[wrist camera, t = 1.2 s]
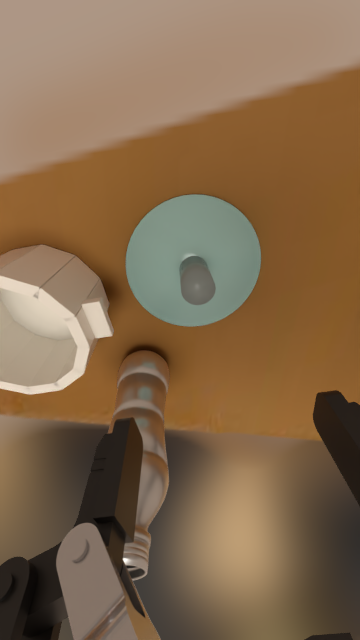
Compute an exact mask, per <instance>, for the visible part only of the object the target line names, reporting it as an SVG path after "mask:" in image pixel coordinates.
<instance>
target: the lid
mask: <svg viewBox="0 0 360 640" xmlns="http://www.w3.org/2000/svg"><path fill="white" fill-rule="evenodd" d="M260 265H261V250H260V245H259V241H258V238H257V235H256V232H255V230H254V228H253V227H252V225H251V223H250V222H249V221H248V219H247V218H246V217H245V216H244V215H243V214H242V213H241V212H240V211H239V210H238V209H237V208H235V207H234V206H233V205H231V204H229V203H227V202H225V201H223V200H221V199H219V198H216V197H213V196H208V195H201V194H190V195H182V196H178V197H175V198H172V199H169V200H167V201H165V202H163V203H161V204H159V205H158V206H156V207H155V208H154V209H152V210H151V211H150V212H149V213H147V215H146V216H145V217H144V218H143V219H142V220H141V221H140V223H139V224H138V226H137V227H136V229H135V230H134V232H133V234H132V236H131V239H130V242H129V244H128V248H127V253H126V274H127V278H128V282H129V285H130V287H131V290H132V292H133V294H134V295H135V297H136V298H137V300H138V301H139V303H140V304H141V305H142V306H143V307H144V308H145V309H146V310H147V311H148V312H150V313H151V314H152V315H154V316H155V317H157V318H159V319H161V320H163V321H165V322H168V323H171V324H175V325H179V326H202V325H207V324H210V323H214V322H216V321H219V320H221V319H223V318H225V317H227V316H228V315H230V314H231V313H233V312H234V311H235V310H237V309H238V308H239V307H240V306H241V305H242V304H243V303H244V301H245V300H246V299H247V298H248V296H249V295H250V293H251V292H252V290H253V288H254V286H255V284H256V281H257V279H258V276H259V271H260Z"/></svg>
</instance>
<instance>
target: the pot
mask: <svg viewBox="0 0 360 640" xmlns="http://www.w3.org/2000/svg"><path fill="white" fill-rule="evenodd" d="M108 308H109V301H108V299H107V296H106V293H105V290H104V287H103V285H102V282H101V279H99V277H98V276H97V275H96V274H95V273H94V272H93V271H92V270H91V269H90V268H89V267H88V266H87V265H86V264H85V263H83V262H82V261H81V260H80V259H79V258H78V257H77V256H76V257H75V255H73V254H70V253H67V252H64V251H61V250H58V249H55V248H52V247H49V246H46V245H42V244H41V245H36V246H30V247H25V248H19V249H14V250H11V251H9V252H7V253H5V254H3V255H1V256H0V388H1V389H6V390H11V391H16V392H21V393H26V394H37V393H44V392H51V391H58V390H63V389H64V388H65V387H67V386H68V385H69V384H71V383H72V382H73V381H75V380H76V379H77V378H79V377H80V376H81V375H83V374H84V372H85V369H86V367H87V365H88V362H89V360H90V358H91V355H92V353H93V351H94V348H95V346H96V344H97V341H98V339H99V338H102V337H109V336H113V333H114V329H113V327H112V324H111V321H110V319H109V316H108V313H107V312H108Z"/></svg>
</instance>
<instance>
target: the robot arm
mask: <svg viewBox="0 0 360 640" xmlns="http://www.w3.org/2000/svg"><path fill="white" fill-rule="evenodd" d="M313 420H314V424H315V427H316V429H317V431H318V433H319V435H320V436H321V438H322V440H323V442H324V444H325V445H326V447H327V449H328V451H329V452H330V454H331V456H332V458H333V460H334V461H335V463H336V465H337V467H338V469H339V470H340V472H341V474H342V476H343V478H344V479H345V481H346V482H347V485H348V486H349V488H350V490H351V492H352V494H353V495H354V497H355V499H356V501H357V502H358V504H359V506H360V405H359V404H357V403H356V402H351V403H348V402H347V400H346V399H345V398H344V396H343V395H342V394H341V393H340V392H339V391H337V390H335V391H328V392H321V393H317V396H316V401H315V407H314V412H313ZM142 457H143V440H142V436H141V433H140V431H139V429H138V426H137V424H136V421H135V419H134V418H133V417H130V418H123V419H117V420H116V421H115V423H114V427H113V431H112V433H109V434H105V435H104V436H103V438H102V439H101V441H100V443H99V444H98V446H97V449H96V453H95V456H94V462H93V464H92V467H91V473H90V475H89V478H88V482H87V486H86V489H85V493H84V497H83V501H82V504H81V508H80V511H79V515H78V518H77V521H76V523H75V525H74V527H73V529H72V530H71V531H70V532H69V533H68V534H67V535H66V537H65V538H64V540H63V541H62V542H60V543H59V544H58V545H56V546H55V547H53V548H51V549H49V550H47V551H45V552H43V553H41V554H39V555H38V556H36V557H34V558H32V559H30V560H28V561H27V560H26V559H24V558H23V557H14V558H11V559H9V560H7V561H6V562H4V563H3V564H2V565H1V566H0V640H58V638H59V633H60V628H61V623H62V620H64V619H65V618H67V617H69V621H70V625H71V629H72V634H73V638H74V640H161V639H160V637H159V635H158V633H157V631H156V629H155V627H154V626H153V624H152V622H151V621H150V619H149V617H148V615H147V613H146V610H145V608H144V606H143V604H142V601H141V599H140V597H139V594H138V592H137V590H136V588H135V585H134V583H133V581H132V579H131V576H130V574H129V572H128V569H127V567H126V565H125V563H124V560H123V553H124V546H125V543H133V542H134V534H135V524H136V515H137V505H138V495H139V486H140V476H141V466H142ZM305 640H353V639H352V637H351V634H350V633H340V634H327V635H313V636H310V637H309V638H307V639H305Z"/></svg>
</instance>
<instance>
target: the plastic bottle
mask: <svg viewBox="0 0 360 640" xmlns="http://www.w3.org/2000/svg"><path fill="white" fill-rule="evenodd" d="M169 381H170V373H169V369H168V365H167V363H166V361H165V360H164V359H163V358H162V357H161V356H160V355H158V354H157V353H155V352H152V351H148V350H141V351H137V352H134V353H132V354H130V355H128V356H127V357H126V358H125V359H124V361H123V362H122V364H121V366H120V368H119V371H118V379H117V389H118V390H117V397H116V405H115V411H114V414H113V418H112V422H111V425H110V428H109V432H108V434H109V433H112V431H113V427H114V423H115V421H116V420H117V419H123V418H130V417H133V418H134V419H135V421H136V424H137V426H138V429H139V431H140V433H141V436H142V440H143V457H142V466H141V476H140V486H139V495H138V505H137V515H136V524H135V534H134V542H133V543H125V546H124V553H123V560H124V563H125V565H126V567H127V569H128V572H129V574H130V576H131V579H132V581H133V580H137V579H140V578H142V577H144V576H146V574H147V570H148V555H149V548H150V545H151V536H150V534H149V533H148V532H147V530H148V526H149V524H150V523H151V521H152V520H153V518H154V517H155V515H156V514H157V512H158V511H159V508H160V507H161V505H162V503H163V501H164V499H165V496H166V493H167V489H168V485H169V473H168V465H167V456H166V448H165V440H164V409H165V401H166V394H167V391H168V387H169Z"/></svg>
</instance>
